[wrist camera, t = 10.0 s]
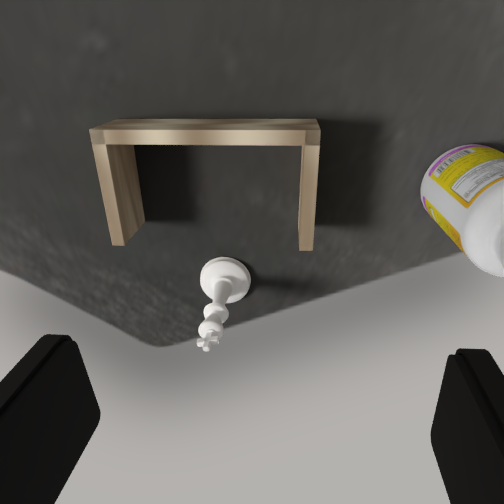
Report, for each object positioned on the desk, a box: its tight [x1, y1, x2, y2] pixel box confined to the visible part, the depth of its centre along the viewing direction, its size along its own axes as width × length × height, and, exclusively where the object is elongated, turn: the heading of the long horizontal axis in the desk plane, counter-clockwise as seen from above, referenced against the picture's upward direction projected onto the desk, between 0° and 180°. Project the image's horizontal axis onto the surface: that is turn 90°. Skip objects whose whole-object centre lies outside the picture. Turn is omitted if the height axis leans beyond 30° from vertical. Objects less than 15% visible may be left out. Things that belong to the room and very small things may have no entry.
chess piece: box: [196, 257, 251, 351], centre depth 33 cm, size 5×5×10 cm
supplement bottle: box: [421, 144, 504, 277], centre depth 25 cm, size 7×7×13 cm
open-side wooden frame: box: [89, 119, 321, 251], centre depth 30 cm, size 16×9×5 cm, turn 90°
